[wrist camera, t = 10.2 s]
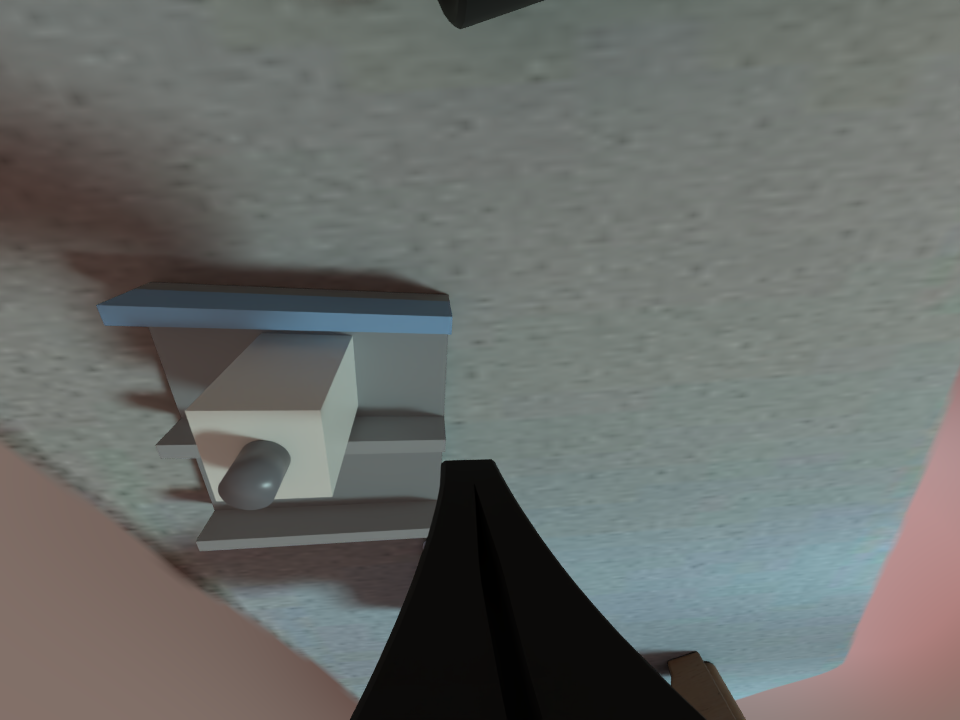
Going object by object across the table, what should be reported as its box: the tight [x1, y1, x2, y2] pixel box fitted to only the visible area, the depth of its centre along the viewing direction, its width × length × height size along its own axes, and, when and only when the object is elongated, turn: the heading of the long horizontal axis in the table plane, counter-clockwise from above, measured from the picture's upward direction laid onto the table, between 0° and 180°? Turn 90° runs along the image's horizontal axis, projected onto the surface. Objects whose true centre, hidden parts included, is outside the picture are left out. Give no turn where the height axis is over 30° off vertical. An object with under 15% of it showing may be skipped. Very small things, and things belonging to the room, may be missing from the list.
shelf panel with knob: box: [96, 282, 452, 551], centre depth 19 cm, size 14×13×3 cm
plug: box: [185, 333, 358, 510], centre depth 15 cm, size 4×4×8 cm
